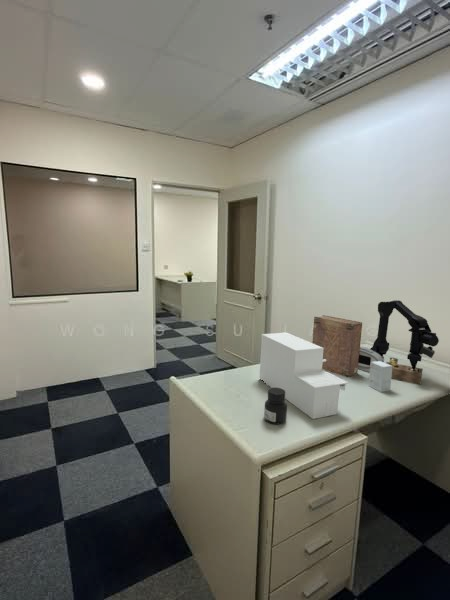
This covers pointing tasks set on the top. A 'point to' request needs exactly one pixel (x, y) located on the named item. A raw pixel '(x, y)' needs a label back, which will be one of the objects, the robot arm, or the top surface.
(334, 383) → the building
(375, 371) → the small box
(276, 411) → the ink bottle
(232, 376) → the top surface
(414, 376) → the walnut block
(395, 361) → the brass peg
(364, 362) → the alarm clock
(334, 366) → the brown wooden case
